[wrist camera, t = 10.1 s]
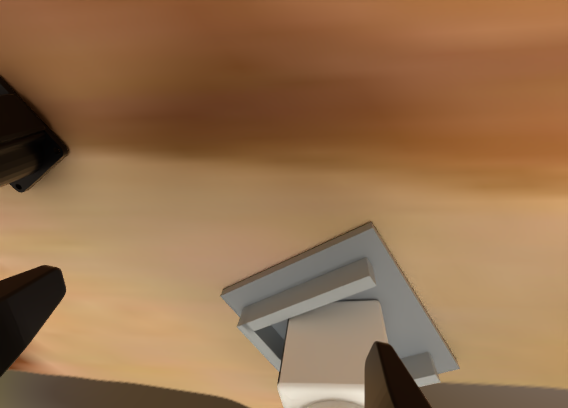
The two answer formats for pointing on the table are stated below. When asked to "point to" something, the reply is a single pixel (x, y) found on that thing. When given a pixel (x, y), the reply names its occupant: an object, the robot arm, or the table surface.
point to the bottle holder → (341, 300)
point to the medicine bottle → (329, 354)
